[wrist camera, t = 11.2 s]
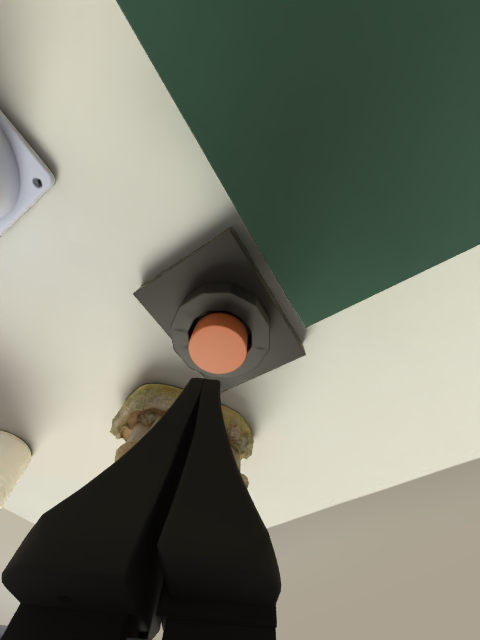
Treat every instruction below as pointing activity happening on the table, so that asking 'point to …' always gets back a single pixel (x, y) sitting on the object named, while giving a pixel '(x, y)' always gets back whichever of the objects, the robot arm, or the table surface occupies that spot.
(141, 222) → the table surface
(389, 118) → the lid
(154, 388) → the ceramic model
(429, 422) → the table surface
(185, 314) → the switch block
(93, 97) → the table surface
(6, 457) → the cup
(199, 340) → the button
